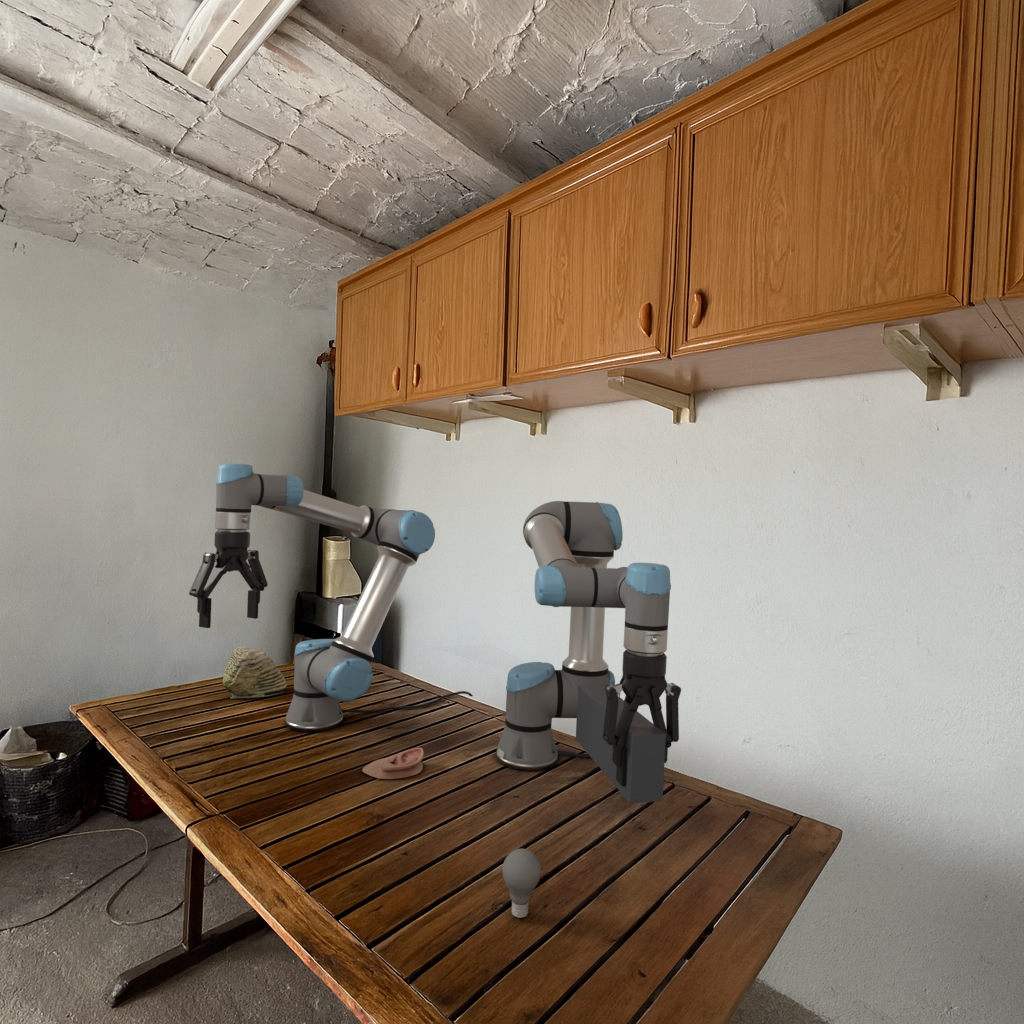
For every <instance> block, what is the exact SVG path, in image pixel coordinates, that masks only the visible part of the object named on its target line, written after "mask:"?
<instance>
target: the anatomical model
mask: <svg viewBox="0 0 1024 1024" xmlns="http://www.w3.org/2000/svg"><path fill="white" fill-rule="evenodd" d="M424 755H425V751H424V749H423V748H422V747H414V748H410V749H407V750H404V751H401V752H398V753H396V754H393V755H391V756H388V757H384V758H380V759H375V760H373V761H372V762H369V763H368V764H366V765H365V766H364V767H363V768H362V770H361V771H362V773H363V774H366V775H368V776H369V777H372V778H375V779H379V780H394V779H395V780H396V779H404V778H408V777H412V776H415V775H418V774H420V773H421V772H422V771H423V768H424V765H423V762H422V761H423V759H424Z"/></svg>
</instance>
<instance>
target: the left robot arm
mask: <svg viewBox="0 0 1024 1024" xmlns="http://www.w3.org/2000/svg"><path fill="white" fill-rule="evenodd" d="M215 485H216V486H215V487H216V488H215V514H214V515H215V516H214V517H215V518H214V529H216V530H217V531H215V532H214V542H213V543H214V544H213V545H214V547H215V549H216V551H215V553H212V552H204V553H203V555H202V561H201V565H200V567H199V570H198V572H197V573H196V576H195V578H194V581H193V583H192V585H191V587H190V589H189V592H188V595H189V596H190V597H193V598H196V599H197V603H196V605H197V607H196V611H197V613H198V615H199V616H198V627H199V628H203V629H211V625H212V598H211V597H210V596H211V594H212V592H213V591H214V589H215V588H216V586H217V585H218V583H219V582H220V580H221V579H222V578H223V577H224V575H226V574H227V573H230V572H234V571H235V572H239V574H240V575H241V577H242V579H244V581H245V582H246V584H247V585H248V586H249V588H250V589H249V590H247V607H246V610H247V611H246V618H247V619H248V618H249V619H255V620H256V619H258V618H259V604H260V603H261V592H264V590H265V588H267V587H268V586H269V584H268V581H267V578H266V575H265V572H264V569H263V567H262V563H261V561H260V554H259V550H257V549H249V548H250V546H251V533H250V531H249V530H251V523H252V522H251V521H252V506H257V507H258V506H259V507H261V508H266V509H269V510H272V511H277V512H279V513H283V514H286V515H290V516H294V517H297V518H301V519H303V520H307V521H311V522H314V523H318V524H321V525H325V526H328V527H332V528H335V529H338V530H342V531H346V532H349V533H350V534H351V536H353V538H357V539H360V540H362V541H363V540H364V541H366V542H368V543H371V544H373V545H375V546H377V548H376V549H377V551H378V554H379V555H378V557H377V560H376V562H375V563H374V566H373V568H372V570H371V572H370V573H369V574H370V575H369V577H368V579H367V581H366V583H365V585H364V587H363V589H362V592H361V593H360V595H359V598H358V600H357V602H356V604H355V606H354V609H353V611H352V613H351V615H350V617H349V619H348V621H347V624H346V626H345V628H344V629H343V632H342V634H341V636H339V637H336V638H319V639H308V640H303V641H300V642H297V644H296V645H295V650H294V655H293V657H294V672H293V695H292V696H293V697H292V699H291V702H290V704H289V707H288V709H287V713H286V715H285V726H286V728H287V729H289V730H291V731H294V732H295V731H296V732H301V733H316V732H325V731H329V730H332V729H335V728H337V727H339V726H340V725H342V723H343V722H344V714H343V713H361V714H369V713H379V712H383V711H391V710H409V709H412V710H413V709H419V708H425V707H428V706H430V705H433V704H436V703H438V702H440V701H441V700H443V699H445V698H449V697H453V696H457V695H463V694H464V695H467V696H469V697H473V696H474V695H473V694H472V693H471V692H469V691H465V690H460V691H456V692H452V693H448V694H444V695H441V696H439V697H438V698H437V699H434V700H432V701H429V702H425V703H422V704H417V705H400V706H399V705H397V706H388V707H381V708H375V709H342V706H341V702H343V703H347V702H349V703H350V702H353V701H355V700H357V699H359V698H361V697H362V696H364V694H366V692H368V690H369V688H370V687H371V684H372V683H373V678H374V672H373V667H372V666H371V664H372V663H373V660H374V657H375V655H374V651H373V646H374V644H375V642H376V640H377V638H378V635H379V633H380V631H381V628H382V627H383V624H384V622H385V620H386V618H387V615H388V613H389V611H390V609H391V606H392V604H393V602H394V599H395V598H396V595H397V593H398V591H399V589H400V586H401V584H402V583H403V580H404V577H405V575H406V573H407V571H408V569H409V568H410V567H412V566H414V565H416V564H417V561H418V560H419V557H420V555H423V554H425V553H426V552H428V551H430V549H431V548H432V547H433V545H434V542H435V539H436V528H435V527H434V523H433V521H432V519H431V517H430V516H428V515H427V514H425V513H424V512H422V511H416V510H413V509H409V510H408V509H407V510H406V509H405V510H404V509H392V508H376V507H372V506H368V505H364V504H363V505H360V506H356V505H353V504H350V503H347V502H344V501H341V500H338V499H335V498H332V497H328V496H325V495H323V494H319V493H316V492H312V491H310V490H306V489H304V484H303V480H302V479H301V478H300V477H298V476H294V475H289V474H287V475H286V474H263V473H257V472H256V473H255V472H254V467H253V466H252V465H251V464H244V463H232V462H231V463H226V462H224V463H221V464H219V465H218V466H217V471H216V481H215Z"/></svg>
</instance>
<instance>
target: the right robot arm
mask: <svg viewBox="0 0 1024 1024" xmlns="http://www.w3.org/2000/svg"><path fill="white" fill-rule="evenodd" d="M620 515H621V514H620V512H619V510H618V509H617V507H616V506H615V505H614V504H611V503H607V502H598V501H596V502H594V501H593V502H591V501H589V502H588V501H566V500H565V501H563V500H553V501H548V502H545V503H543V504H541V505H539V506H537V507H536V508H534V509H533V510H532V511H531V512H530V513H529V514H528V516H527V517H526V518H525V521H524V522H523V527H522V534H523V535H522V536H523V539H524V541H525V543H526V545H527V546H528V548H530V549H531V550H532V552H533V554H534V557H535V560H536V563H537V566H538V567H537V569H536V571H535V575H534V597H535V601H536V603H537V604H538V605H540V606H545V607H548V606H549V607H553V608H561V607H563V608H565V607H566V608H570V615H569V616H570V617H569V618H570V619H569V638H568V639H569V640H568V655H567V657H566V658H564V660H562V661H561V662H562V663H561V669H555V666H554V665H553V664H552V663H550V662H542V661H532V662H525V663H520V664H517V665H515V666H513V667H512V668H511V669H509V671H508V672H507V678H506V679H507V680H506V686H505V691H506V696H505V697H506V701H505V716H504V717H505V721H504V728H503V730H502V733H501V736H500V739H499V742H498V743H497V747H496V754H495V755H496V760H497V762H499V763H500V764H502V765H503V766H505V767H507V768H510V769H513V770H518V771H529V772H531V771H533V772H535V771H542V770H547V769H550V768H552V767H553V766H555V765H556V764H557V762H558V756H565V757H574V758H582V759H587V758H589V759H590V758H591V757H590V756H589V754H588V753H578V752H570V751H564V750H563V751H562V750H558V749H557V745H556V740H555V737H554V733H553V729H552V725H553V723H552V722H553V719H577V699H578V686H582V685H605V691H606V695H607V703H606V712H605V721H604V730H603V739H604V740H605V741H606V742H607V743H608V744H609V745H613V755H612V756H613V757H612V760H613V763H614V764H615V765H616V766H617V768H616V780H617V781H618V782H619V784H620V785H621V786H626V773H627V752H628V749H627V748H626V747H625V746H624V743H625V740H626V737H627V734H628V731H629V729H630V726H631V723H632V720H633V717H634V714H635V712H636V711H638V710H639V707H641V706H644V705H645V706H648V709H649V711H650V712H649V713H650V716H651V719H652V723H653V724H654V725H655V726H656V727H657V728H658V729H660V730H661V731H663V732H664V733H665V734H666V740H665V761H664V764H667V762H668V756H669V749H670V748H671V747H672V743H677V742H679V740H680V726H679V725H680V723H679V721H680V718H679V717H680V716H679V714H680V713H679V699H680V696H681V692H682V687H680V686H679V685H677V684H675V683H674V682H668V681H667V679H666V674H667V661H668V660H667V658H668V657H667V655H666V652H667V650H668V638H669V637H668V636H669V634H668V633H669V618H670V617H669V614H670V601H671V599H670V598H671V589H672V584H671V570H670V568H669V566H667V565H665V564H660V563H653V562H632V563H630V564H629V565H628V566H620V567H617V568H612V567H608V564H609V562H611V561H612V560H613V559H614V557H615V551H618V550H620V549H621V548H622V546H623V543H622V542H623V523H622V519H621V516H620ZM606 609H624V631H623V648H624V649H625V650H624V651H623V652H622V676H621V678H620V681H619V682H618V683H616V677H615V674H614V673H613V672H612V670H609V663H607V661H606V660H605V659H604V643H605V641H604V639H605V622H606V621H605V620H606V619H605V618H606ZM621 692H622V693H624V695H625V696H624V699H623V700H624V702H623V705H624V706H623V709H622V712H621V715H620V718H619V721H618V724H617V727H616V722H617V713H618V703H619V702H618V698H619V697H620V698H621ZM663 693H665V718H664V714H663V710H662V708H663V707H662V706H663V705H662V702H661V696H662V695H663ZM591 759H592V758H591Z"/></svg>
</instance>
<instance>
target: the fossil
mask: <svg viewBox="0 0 1024 1024" xmlns="http://www.w3.org/2000/svg"><path fill="white" fill-rule="evenodd" d="M222 676H223V677H222V685H223V687H224V688H225V690H226V691H228V693H229V698H230V699H250V698H264V697H271V696H275V695H281V694H284V693H285V691H286V689H287V687H288V686H287V680H286V678H285V676H284V674H283V673H282V672H281V669H279V668H278V667H277V665H276V663H275V662H274V660H273V659H272V658H271V657H270V656H269V655H268V654H267V653H266V652H265V650H264V649H263V648H260V647H258V648H251V647H247V646H246V647H245V646H238V647H237V648H236V649H235V650H233V651H232V653H231V656H230V657H229V659H228V660H227V663H226V666H225V668H224V671H223V675H222Z"/></svg>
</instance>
